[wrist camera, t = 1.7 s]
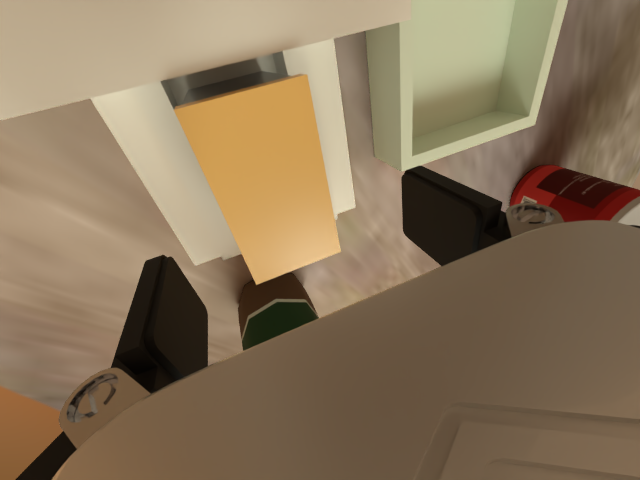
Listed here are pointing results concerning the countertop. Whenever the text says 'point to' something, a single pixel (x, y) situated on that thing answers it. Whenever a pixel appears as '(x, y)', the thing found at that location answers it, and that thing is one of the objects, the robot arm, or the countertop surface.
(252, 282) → the beer bottle
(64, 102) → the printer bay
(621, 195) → the canned food
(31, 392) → the countertop surface
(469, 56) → the tray
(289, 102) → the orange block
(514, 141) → the countertop surface
